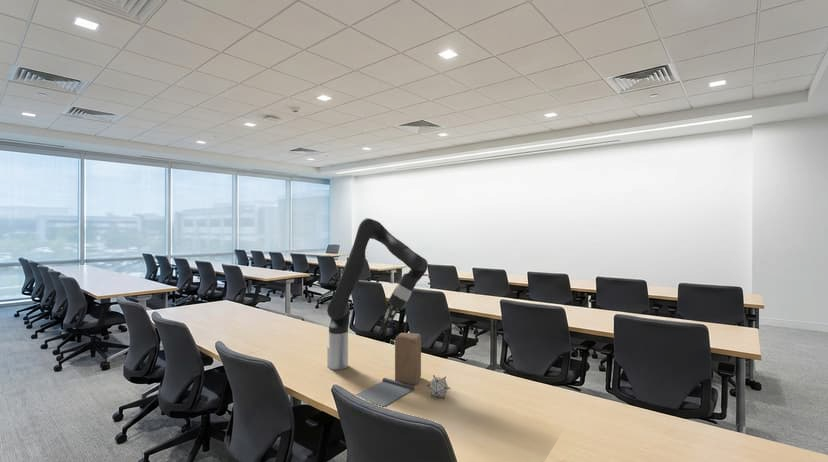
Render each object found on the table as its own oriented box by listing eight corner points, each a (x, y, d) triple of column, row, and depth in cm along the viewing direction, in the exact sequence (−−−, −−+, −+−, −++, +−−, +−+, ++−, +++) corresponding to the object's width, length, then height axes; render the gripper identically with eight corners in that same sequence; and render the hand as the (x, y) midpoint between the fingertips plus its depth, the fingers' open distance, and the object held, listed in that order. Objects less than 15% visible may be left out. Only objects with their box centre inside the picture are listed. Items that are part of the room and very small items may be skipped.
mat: (352, 396, 154) (352, 393, 154) (384, 381, 170) (384, 377, 170) (383, 407, 145) (383, 403, 145) (414, 389, 161) (414, 386, 161)
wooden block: (416, 385, 165) (416, 339, 165) (394, 383, 167) (394, 337, 167) (421, 377, 175) (421, 333, 175) (400, 375, 177) (400, 332, 177)
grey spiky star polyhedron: (442, 404, 155) (457, 383, 156) (437, 405, 148) (452, 383, 149) (425, 389, 159) (439, 369, 160) (419, 389, 152) (434, 368, 153)
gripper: (392, 290, 177) (374, 322, 175) (393, 294, 163) (374, 328, 161) (406, 298, 177) (389, 330, 176) (408, 302, 163) (390, 337, 162)
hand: (382, 329), depth 169 cm, fingers open, 8 cm apart
